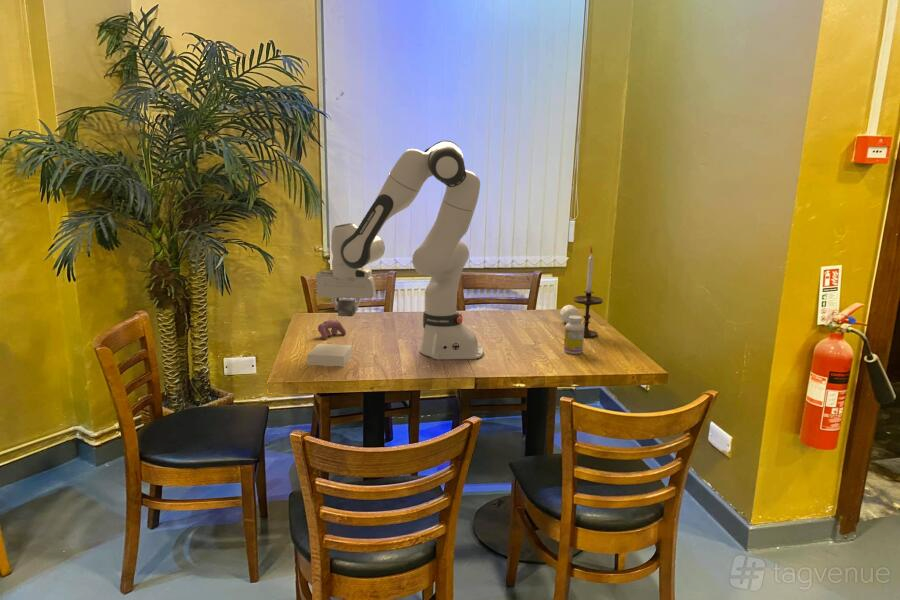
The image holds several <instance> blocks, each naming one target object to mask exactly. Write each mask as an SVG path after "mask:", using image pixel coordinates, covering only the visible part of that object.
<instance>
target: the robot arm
mask: <svg viewBox="0 0 900 600" xmlns="http://www.w3.org/2000/svg"><path fill="white" fill-rule="evenodd" d="M431 177H434V178H436V180H438V181H439V182H440V183H443V184H444V185H446V186H445V187H446V188H445V192H444V194H443V199H442V202H441V204H440V208H439V210H438V213H437V217H436V219H435V221H434V223H433V224H432V225H433V226H432V227H431V229H430V230H429V232H428V234H427V235H426V237H425V238H424V240H423V241H422V243H421V244H420V245H419V247H417V248H416V249H415V251H414V252H413V255H412V259H411V261H412V266H413V268H414V270H415V271H416V273H418V274H419V275H421V276H429V277H431V278H430V280H429V283H428V284H427V286H426V288H425V290H424V312H423V314H422V325H423V333H422V334H423V335H422V341H421V344H420V348H419V353H421V354H422V355H423V356H427V357H430V358H431V359H434V360H478V359H480V358H482V357H483V356H484V352H485V351H484V347H483V346H482V345H480V344H478V343H479V341H478V338H477V335H476V334H475V332H474V331H473V330H471V328H469V327H467V326H466V325H465V324H463V319H464V318H463V315H462V313H459V312H458V311H457V305H458V304H457V303H458V302H457V301H458V298H457V297H458V289H459V284H460V280H461V277H462V274H463V273H462V272H463V270H464V267H465V265H466V264H467V262H468V260H469V258H470V251H469V248H468V246H467V245H466V243H465V242H463V241H462V240H461V239H462V238H463V237H464V236H466V234H467V232H468V231H469V228H470V225H471V221H472V219H473V216H474V213H475V210H476V207H477V205H478V200H479V195H480V190H481V181H480V178H479V177H478V176H477V175H476V174H475V173H474V172H472V171H469V170H467V169H466V166H465V160H464V155H463V152H462V150H461V149H460V147H459V146H458V145H457V144H456V143H455V142H453V141H450V140H440V141H438V142H436V143H434V144H433V145H431V146H429V147H427V148H426V149H425V150H424V151H422V150H419V149H416V148H408V149H407V150H405V151H404V152H403V154H402V155H401V156H400V157H399V158H398V160H397V161H396V162H395V164H394V165H393V167H392V169H391V170H390V172H389V174H388V176H387V178H386V180H385V182H384V183H383V185H382V188H381V189H380V191H379V193H378V194H377V196H376V198H375V200H374V201H373V203H372V205H371V206H370V208H369V209H368V211H367V212H366V214H365V216H364V217H363V219H362V220H361V222H360V224H359V225H358V226H357V225H356V224H355V223H351V222H349V223H343V224H338V225H335V226H334V227H333V228H332V232H331V239H330V240H331V243H330V244H331V245H330V247H331V253H332V259H331V260H332V261H331V270H319V271H318V272H317V273H316V275H315V278H316V282H317V283H316V295H317V297H318V298H331V302H332V303H333V305H334V310H335V311H338V304H337V302H338V301H337V300H338V299H339V298H341V299H355V305H353V310H355V311H356V312H357V311H358V310H359V304H360V303H361V301H362V299H373V298H374V297H375V296H376V283H375V279H374V277H373V276H372V274H373V271H372V269H371V268H369V267H367V266H366V265H370V264H372V263H374V262H376V261H378V260H380V259H381V258H382V257H383V256H384V254H385V242H384V241H383V239H382V238H381V237H380V235H378V234H379V232H380V231H381V230H382V228H383V226H384V225H385V224H386V223H387V221H388V220H389V219H390V218H392V217H393V216H395V215H396V214H398V213H400V212H401V211H404V210H405V209H407V208H408V207H409V206H410V205H411V204H412V203H413V202H414V200H415V199H416V197H417V196H418V195H419V193H420V191H421V189H422V187H423V185H424V184H425V182H426V181H427V180H428V179H429V178H431ZM477 358H478V359H477Z"/></svg>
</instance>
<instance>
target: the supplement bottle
mask: <svg viewBox="0 0 900 600" xmlns="http://www.w3.org/2000/svg"><path fill="white" fill-rule="evenodd" d="M568 320H569V323H565V326H564V327H565V328H564V342H563V350H564V352H565V353H566V354H569V353H570V354H571V355H580V354H581V353H582V354H583V351H584V341H585V340H584V339H585V338H584V327H585V324H584V323H582V322H583V317H582V316H581V315H579V316H574V315H573V316H569V319H568Z"/></svg>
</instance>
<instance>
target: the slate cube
mask: <svg viewBox="0 0 900 600" xmlns="http://www.w3.org/2000/svg"><path fill="white" fill-rule="evenodd" d="M336 302H337V304H338V310H337V317H353V316H354V315H355V314H356V312H357V311H355V310H353V305H356V298H341V299H338V301H336Z"/></svg>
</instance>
